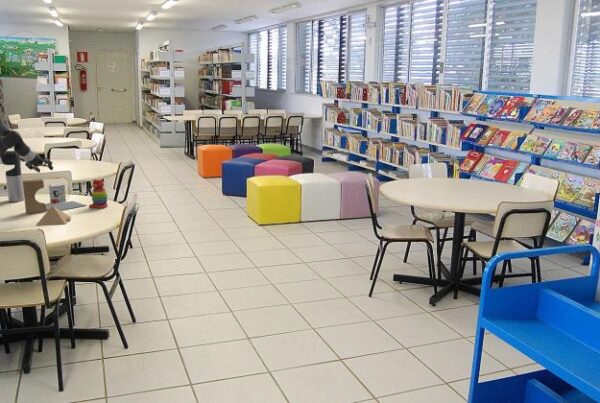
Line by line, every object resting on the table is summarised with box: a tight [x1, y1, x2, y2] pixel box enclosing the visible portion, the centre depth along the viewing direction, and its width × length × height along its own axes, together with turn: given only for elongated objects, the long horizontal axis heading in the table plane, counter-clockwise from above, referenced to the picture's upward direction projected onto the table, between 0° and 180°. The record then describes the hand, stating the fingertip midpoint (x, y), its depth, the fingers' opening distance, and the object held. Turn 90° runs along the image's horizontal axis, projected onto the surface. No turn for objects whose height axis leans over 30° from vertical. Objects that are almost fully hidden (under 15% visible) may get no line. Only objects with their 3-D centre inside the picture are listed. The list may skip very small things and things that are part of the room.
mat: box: [46, 200, 87, 212], centre depth 360 cm, size 17×22×1 cm
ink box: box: [48, 183, 67, 205], centre depth 371 cm, size 9×5×12 cm, turn 136°
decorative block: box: [22, 178, 47, 215], centre depth 345 cm, size 11×6×20 cm, turn 122°
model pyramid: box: [35, 206, 72, 227], centre depth 325 cm, size 17×17×10 cm
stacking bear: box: [88, 178, 108, 210], centre depth 359 cm, size 11×10×18 cm
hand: (45, 170), depth 341 cm, fingers open, 8 cm apart
